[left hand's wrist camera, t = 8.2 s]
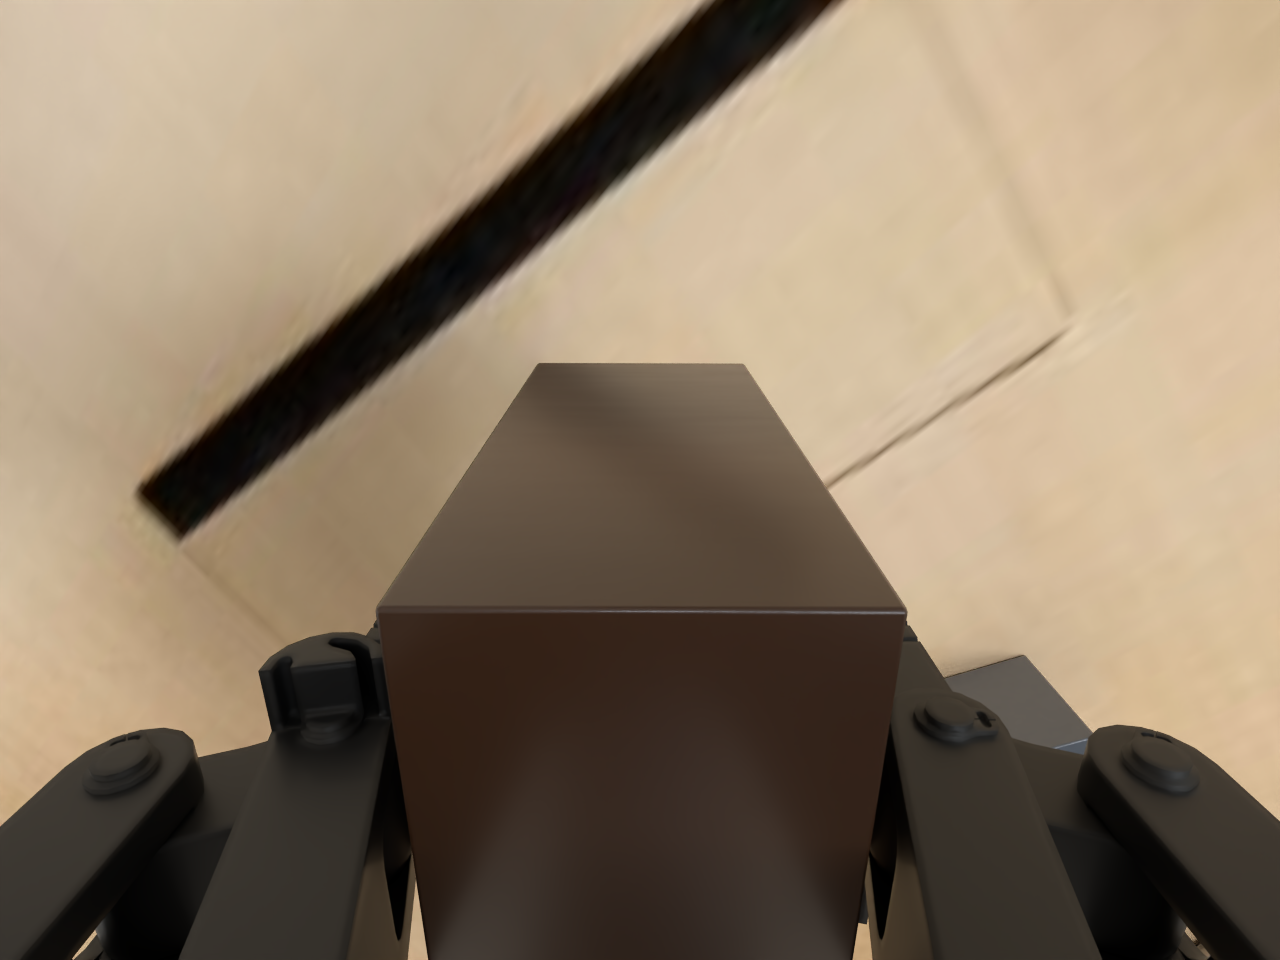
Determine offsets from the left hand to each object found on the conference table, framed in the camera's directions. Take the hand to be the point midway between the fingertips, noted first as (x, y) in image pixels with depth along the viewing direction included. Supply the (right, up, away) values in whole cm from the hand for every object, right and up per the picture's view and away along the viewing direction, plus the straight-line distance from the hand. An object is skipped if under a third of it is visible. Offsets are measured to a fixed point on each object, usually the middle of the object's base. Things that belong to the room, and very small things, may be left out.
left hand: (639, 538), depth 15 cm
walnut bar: (0, -8, +3) cm, 8 cm away
